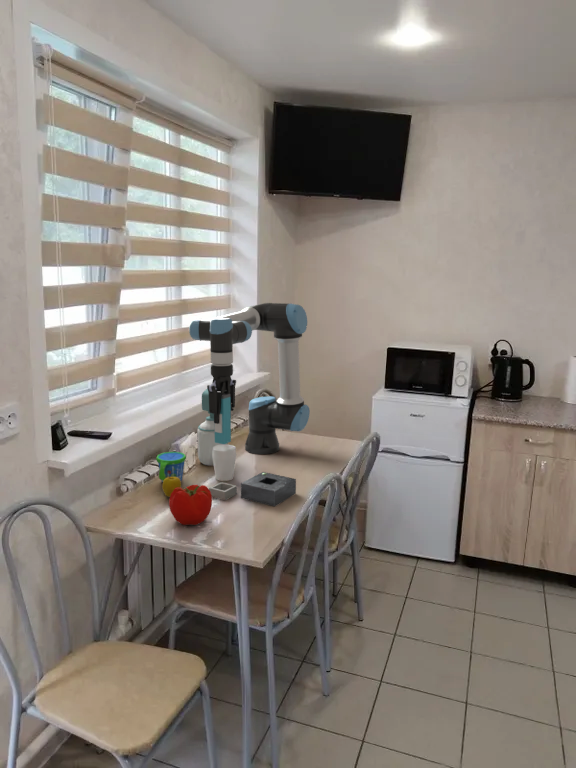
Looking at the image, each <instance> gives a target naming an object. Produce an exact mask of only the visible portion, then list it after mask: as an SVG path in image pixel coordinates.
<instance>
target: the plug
mask: <svg viewBox="0 0 576 768" xmlns="http://www.w3.org/2000/svg"><path fill="white" fill-rule="evenodd" d="M221 401H222V403H221V412H220V414H222V433H218V432H215V443H220V444H226V443H228V444H229V443H230V442H231V443H232V411H231V404H232V403H231V404H230V394H225V393H224V394H223V395H222V396H221ZM214 428H215V423H214Z"/></svg>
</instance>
